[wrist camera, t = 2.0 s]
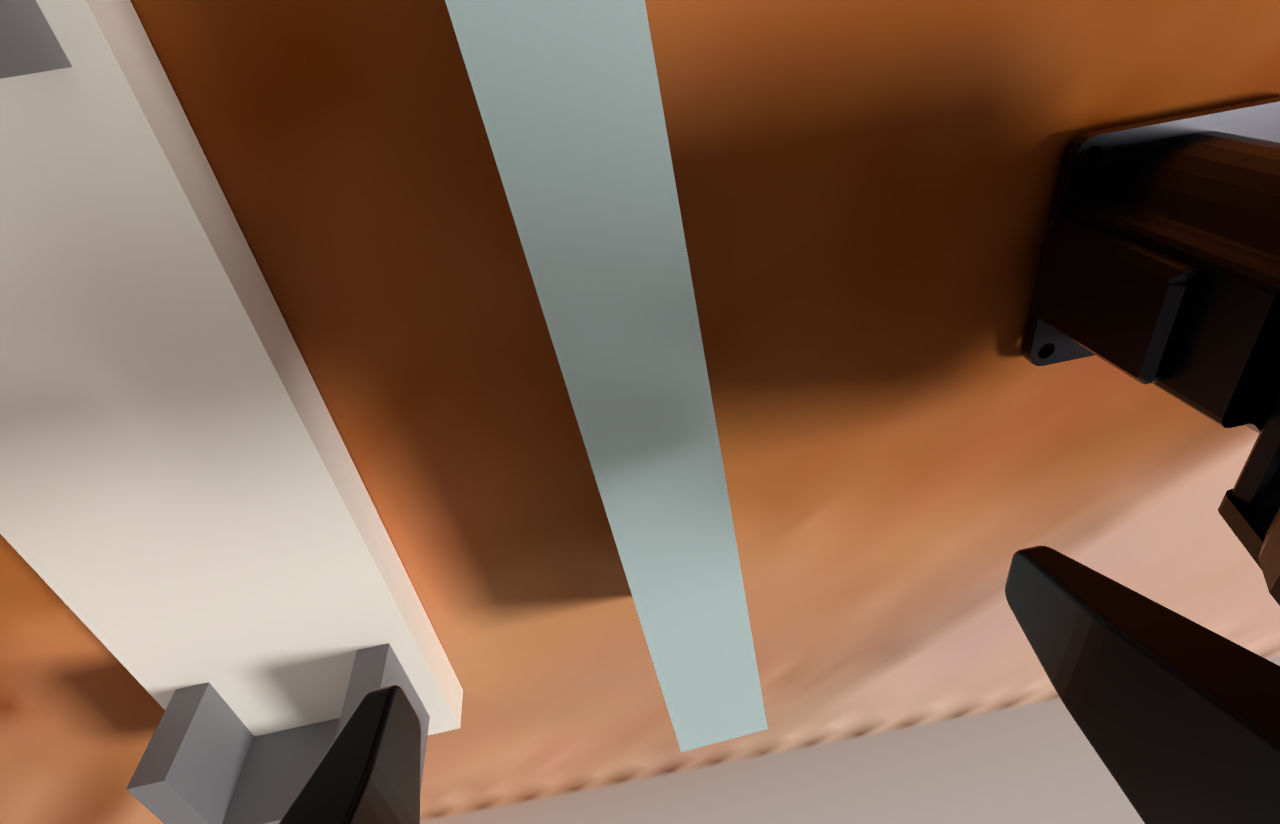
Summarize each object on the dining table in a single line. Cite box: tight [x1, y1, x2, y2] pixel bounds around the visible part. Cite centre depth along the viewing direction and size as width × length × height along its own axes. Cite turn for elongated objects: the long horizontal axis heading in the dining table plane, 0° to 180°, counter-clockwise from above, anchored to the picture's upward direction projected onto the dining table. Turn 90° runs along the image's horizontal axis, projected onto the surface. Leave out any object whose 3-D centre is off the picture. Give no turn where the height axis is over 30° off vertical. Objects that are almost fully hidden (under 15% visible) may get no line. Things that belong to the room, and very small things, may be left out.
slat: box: [445, 0, 768, 752], centre depth 15 cm, size 2×20×6 cm, turn 12°
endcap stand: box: [0, 0, 463, 824], centre depth 15 cm, size 8×26×4 cm, turn 8°
